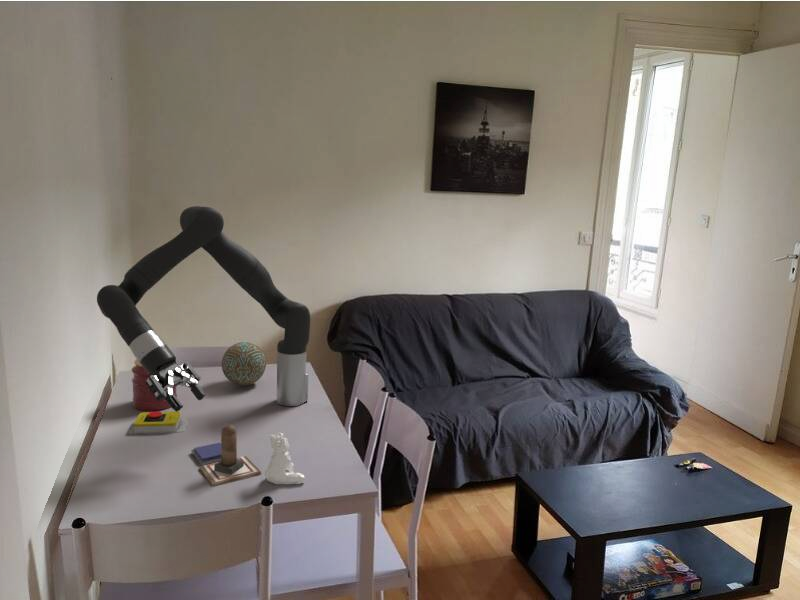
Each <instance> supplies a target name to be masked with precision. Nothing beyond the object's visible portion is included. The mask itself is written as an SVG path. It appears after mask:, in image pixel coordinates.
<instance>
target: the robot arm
mask: <svg viewBox="0 0 800 600" xmlns="http://www.w3.org/2000/svg"><path fill="white" fill-rule="evenodd" d="M223 217H224V216H223V215H222V214H221V212H220V211H218V210H217V209H216V208H214V207H208V206H201V205H195V206H193V205H192V206H190V207H186V208H185V209H184V210H183V211H182V212H181V214H180V216H179V225H180V228H181V230H182V231H181V232H180V233H179V234H177V235H176V236H175V237H173V238H172V239H170V240H169V241H168V242H166V243H163V244H161V245H160V246H159V247H157V248H155V249H154V250H152V251H151V252H149V253H148V254H146V255H145V256H143V257H142V258H141V259H140V260H138V261H137V262H136V263H135V264H134V265H132V266H131V267H130V268H129V269H128V270H127V271H126V273H124V276H123V277H124V278H123V280H122V281H121V282H120V283H119V284H118V285H115V284H109V285H105V286H103V287H101V288H100V290H99V291H97V295H96V303H97V306H98V307H99V310H100V312H101V313H102V315H103V316H104V317H105V318H107V319H109V320H110V321H111V323H112V324H113V325H114V327H115V328H116V330H117V332H118V334H119V335H120V337H121V339H122V340H123V341H124V342H125V343H126V345H127V346H128V347H129V349H130V351H131V353H132V355H133V356H134V357H135V358H136V359H137V360H138V361H139V362H140V364H141V365H142V366H143V368H144V369H145V370H146V372H147V373H148V374H149V375H150V377H149V378H148V379H147V380H146V381H145V384H146V385H147V386H148V388H149V389H150V391H151V392H152V394H153V395H154V397H155V398H156V399H157V400H158V401H160V400H165V401H167V402H168V403H169V405H170V406H171V407H170V408H171V409H172V410H174V412H177V411H178V412H180V411H181V409H183V407H184V405H183V404H182V403H181V401H180V399H179V398H178V396H177V397H176V396H175V395H173V389H172V388H173V387H174V386H176V387H178V386H181V387H186V388H188V389H190V391H191V393H192V394H193V396H194V397H195V399H196V400H198V401H202V400H203V399H204V398H205V397H206V394H205V392H204V390H203V389H202V388H201V387H200V385H199V382H200V381H201V380H202V378H201V376H200V375H199V374H198V372H197V371H196V370H195V368H193V366H192V364H190V362H188V361H184V363H182V365H180V364H179V363H177V361H176V360H177V357H176V355H175V354H174V352H173V351H172V350H171V349H170V348H169V347H168V345H167V344H166V342H165V341H164V339H162V337H161V336H160V335H159V334H158V333H157V332H156V331H155V330H154V329H153V327H152V326H151V325H150V323H149V322H148V321H147V320H146V318H145V317H143V315H142V314H141V312H140V311H139V309H138V308H137V307H136V305H137V304H138V303H139V302H140V301H141V300H142V298H143V297H144V295H145V294H146V293H147V292H148V291H150V290H151V288H153V287H154V286H155V285H156V284H157V283H158V282H159V281H161V280H162V279H163V278H164V277H165V276H166V275H167V274H168V273H169V272H170V271H172V270H173V269H174V268H175V267H176V266H178V265H179V264H180V263H181V262H183V261H184V260H185V259H187V258H188V257H189V256H191V255H192V254H193V253H195V252H196V251H199V249H201V248H202V249H203V250H204V251H205V252H206V253H208V254H209V256H211V257H212V258H213V260H214V261H215V262H216V263H217V264H218V265H219V266H220V267H221V268H222V269H223V270H224V271H225V272H226V273H227V274H228V275H229V277H230V278H231V279H232V280H234V282H235V283H237V285H238V286H239V287H240V288H242V290H243V291H245V292H246V293H247V294H248V295H249V296H250V297H251V298H252V299H253V300H255V301H256V302H257V303H258V304H259V305H261V307H262V308H263V309H264V310H265V311H266V313H267V314H268V316H270V318H271V319H272V320H273V322H274V324H276V325H277V326H278V327H280V328H282V329H284V337H283V339H281V340H278V342H277V346H276V348H277V349H276V350H277V353H276V355H277V356H276V357H277V358H276V404H278V405H280V406H286V407H296V406H297V407H298V406H301V405H303V404H305V403H307V402H306V401H309V395H308V394H309V374H308V373H307V346H308V344H309V342H310V333H311V332H310V331H311V312H310V310H309V308H308V306H307V305H305V304H303V303H301V302H297V301H295V300H292V299H289V298H288V297H287V296H285V295H284V294H283V293H282V292H281V291H280V290H279V289H278V288H277V287H276V285H275V283H274V281H273V279H272V277H271V274H270V272H269V271H268V270H267V269H268V268H266V267H265V265H263V264H262V263H261V262H260V260H259V259H258V258H257V257H256V256H255V255H253V254H252V253H251V252H249V251H248V250H247V249H245V248H244V247H243V246H241V245H240V244H238V243H236V242H235V241H234V240H232V239H230V238H229V237H228V236H227V235H226V234H225V233H224V232H223V229H224V226H225V225H224V224H225V222H224V221H225V220H224V218H223ZM160 384H161V385H160ZM157 390H158V391H159V393H160V394H159V393H158V392H157ZM304 402H305V403H304ZM302 403H303V404H302ZM300 404H301V405H300Z"/></svg>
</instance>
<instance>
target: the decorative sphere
mask: <svg viewBox="0 0 800 600" xmlns="http://www.w3.org/2000/svg"><path fill="white" fill-rule="evenodd" d="M266 367H267V360H266V356H265V354H264V352H263V350H262V349H261V348H260V347H259V346H258V345H256V344H254V343H251V342H247V341H245V342H244V341H243V342H237V343H235V344H233V345H231V346H230V347H228V348H227V349H226V351H225V352H224V354H223V356H222V359H221V370H222V373H223V375H224V377H225V378H226V379H227V380H228V381H229V382H231V383H232V384H234V385H237V386H250V385H252V384H254V383H256V382H258V381H259V380H260V379H261V378H262V376H263V375H264V373H265V370H266Z"/></svg>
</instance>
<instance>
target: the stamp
mask: <svg viewBox="0 0 800 600" xmlns="http://www.w3.org/2000/svg"><path fill="white" fill-rule="evenodd" d="M220 435H221V437H220V438H221V440H220V441H221V442H220V443H221V456H222V460H221V461H219V462H218V463H217V462H216V463H217V464H215V465H214V471H218V472H222V473H226V474H231V475H232V474H234V473H235V472H236V471H238V470H239V469H240V468H242V467H243V466H244V461H243V460H239V459H237V458H238V457H237V455H238V452H237V451H238V450H237V448H238V445H237V443H238V442H237V441H238V439H237V435H238V433H237V429H236V427H235V426H234V425H232V424H226V425H225V426H223V427H222V429H221V433H220Z"/></svg>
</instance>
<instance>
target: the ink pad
mask: <svg viewBox="0 0 800 600" xmlns="http://www.w3.org/2000/svg"><path fill="white" fill-rule="evenodd" d="M190 452H191V455H192V456H193V457H194V459H195V460H196V461H197V462H198V463H199V465H200V466H204V465H208V464H212V463H217V462H220V461H221V460H222V456H221V442H215V443H211V444H206V445H202V446H201V445H200V446H196V447H193V449H191V451H190Z"/></svg>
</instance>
